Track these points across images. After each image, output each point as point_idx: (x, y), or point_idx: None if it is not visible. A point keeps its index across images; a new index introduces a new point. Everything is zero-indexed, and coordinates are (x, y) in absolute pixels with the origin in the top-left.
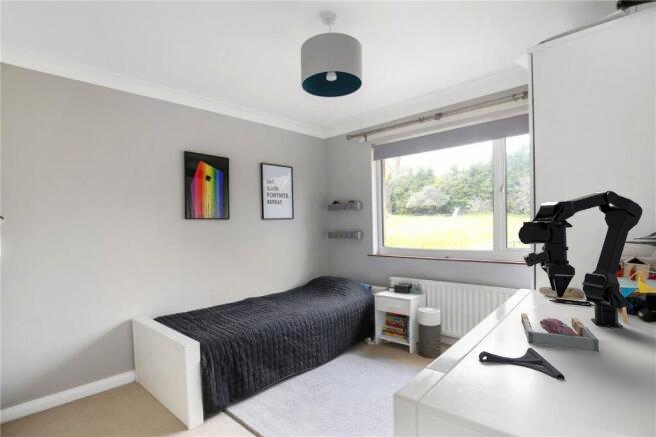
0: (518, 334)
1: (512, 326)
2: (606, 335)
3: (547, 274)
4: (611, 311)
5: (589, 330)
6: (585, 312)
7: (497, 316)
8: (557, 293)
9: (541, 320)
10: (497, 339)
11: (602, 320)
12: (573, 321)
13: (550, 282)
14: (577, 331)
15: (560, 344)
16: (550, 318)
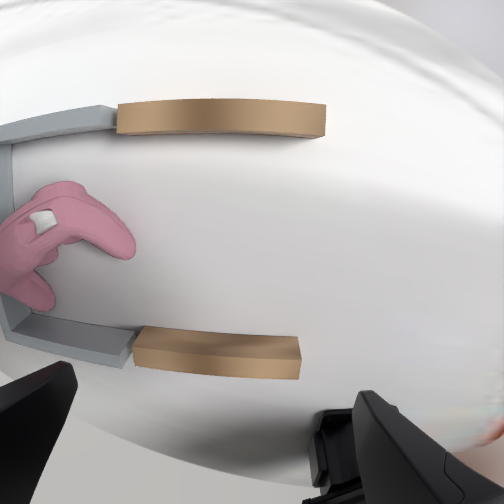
0: (72, 89)
1: (183, 58)
2: (203, 405)
3: (488, 491)
4: (320, 483)
5: (81, 359)
6: (479, 394)
7: (359, 11)
8: (36, 375)
9: (45, 189)
10: (14, 39)
11: (325, 437)
12: (258, 354)
13: (393, 445)
14: (182, 334)
15: None
16: (13, 233)
